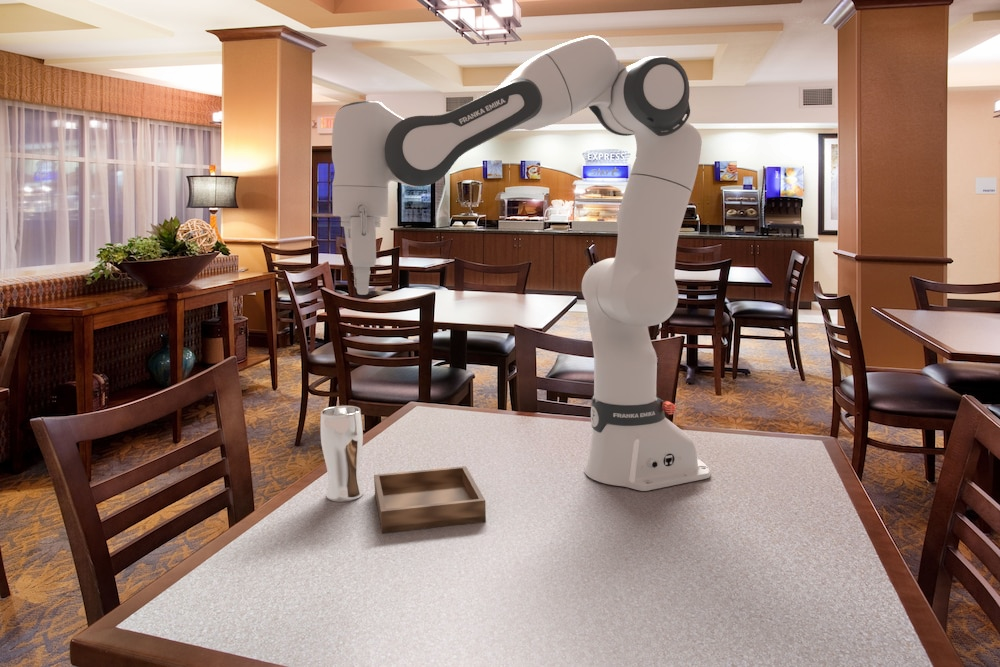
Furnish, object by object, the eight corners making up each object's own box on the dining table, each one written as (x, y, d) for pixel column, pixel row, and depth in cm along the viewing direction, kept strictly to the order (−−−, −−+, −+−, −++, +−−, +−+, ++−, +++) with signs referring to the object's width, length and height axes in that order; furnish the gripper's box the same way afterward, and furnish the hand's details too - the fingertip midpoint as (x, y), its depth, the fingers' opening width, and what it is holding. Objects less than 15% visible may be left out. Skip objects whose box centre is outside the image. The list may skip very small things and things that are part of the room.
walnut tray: (466, 485, 128) (465, 466, 127) (485, 521, 112) (485, 500, 112) (374, 494, 124) (373, 474, 123) (381, 533, 109) (381, 511, 108)
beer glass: (356, 504, 120) (351, 417, 117) (317, 501, 121) (312, 415, 119) (371, 488, 126) (367, 405, 124) (334, 486, 128) (330, 404, 125)
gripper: (385, 205, 107) (385, 298, 109) (376, 207, 127) (376, 285, 129) (341, 204, 106) (343, 298, 108) (339, 206, 125) (340, 285, 127)
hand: (361, 291), depth 118 cm, fingers open, 8 cm apart
